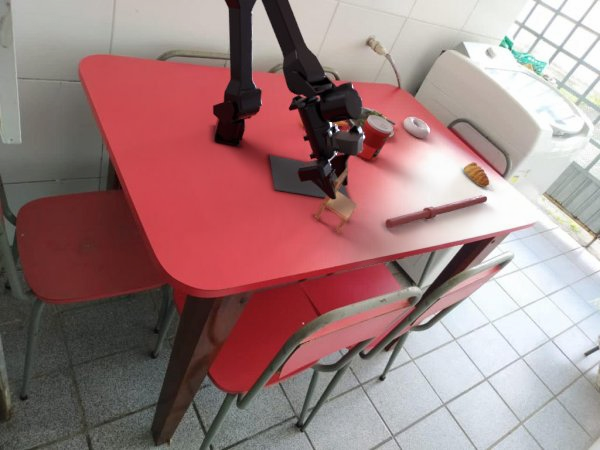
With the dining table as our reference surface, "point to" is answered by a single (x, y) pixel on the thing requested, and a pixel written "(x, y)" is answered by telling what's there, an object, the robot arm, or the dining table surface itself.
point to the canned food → (374, 137)
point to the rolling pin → (433, 211)
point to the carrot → (335, 123)
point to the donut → (416, 127)
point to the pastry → (476, 174)
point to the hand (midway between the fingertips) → (340, 192)
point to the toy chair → (339, 203)
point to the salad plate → (365, 114)
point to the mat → (295, 178)
